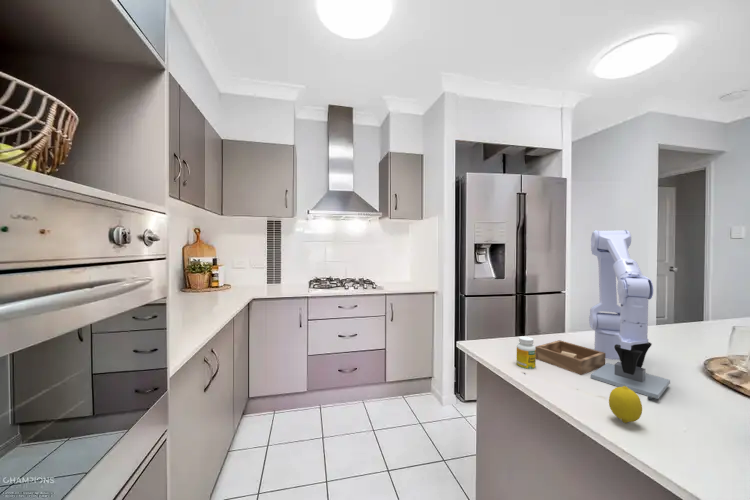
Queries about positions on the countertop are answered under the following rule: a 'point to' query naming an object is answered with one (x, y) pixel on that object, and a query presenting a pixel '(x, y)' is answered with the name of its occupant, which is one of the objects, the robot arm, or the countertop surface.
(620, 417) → the lemon
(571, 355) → the block
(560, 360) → the box
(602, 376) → the lid
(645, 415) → the countertop surface
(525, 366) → the supplement bottle
